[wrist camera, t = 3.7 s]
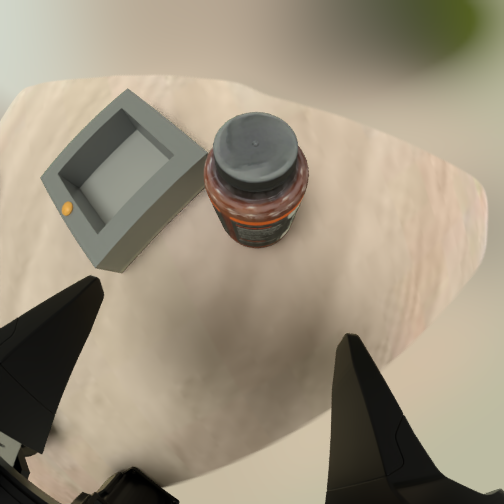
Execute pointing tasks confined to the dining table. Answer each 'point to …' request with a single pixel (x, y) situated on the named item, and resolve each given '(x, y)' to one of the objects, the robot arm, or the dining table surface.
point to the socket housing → (124, 180)
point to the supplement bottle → (256, 178)
